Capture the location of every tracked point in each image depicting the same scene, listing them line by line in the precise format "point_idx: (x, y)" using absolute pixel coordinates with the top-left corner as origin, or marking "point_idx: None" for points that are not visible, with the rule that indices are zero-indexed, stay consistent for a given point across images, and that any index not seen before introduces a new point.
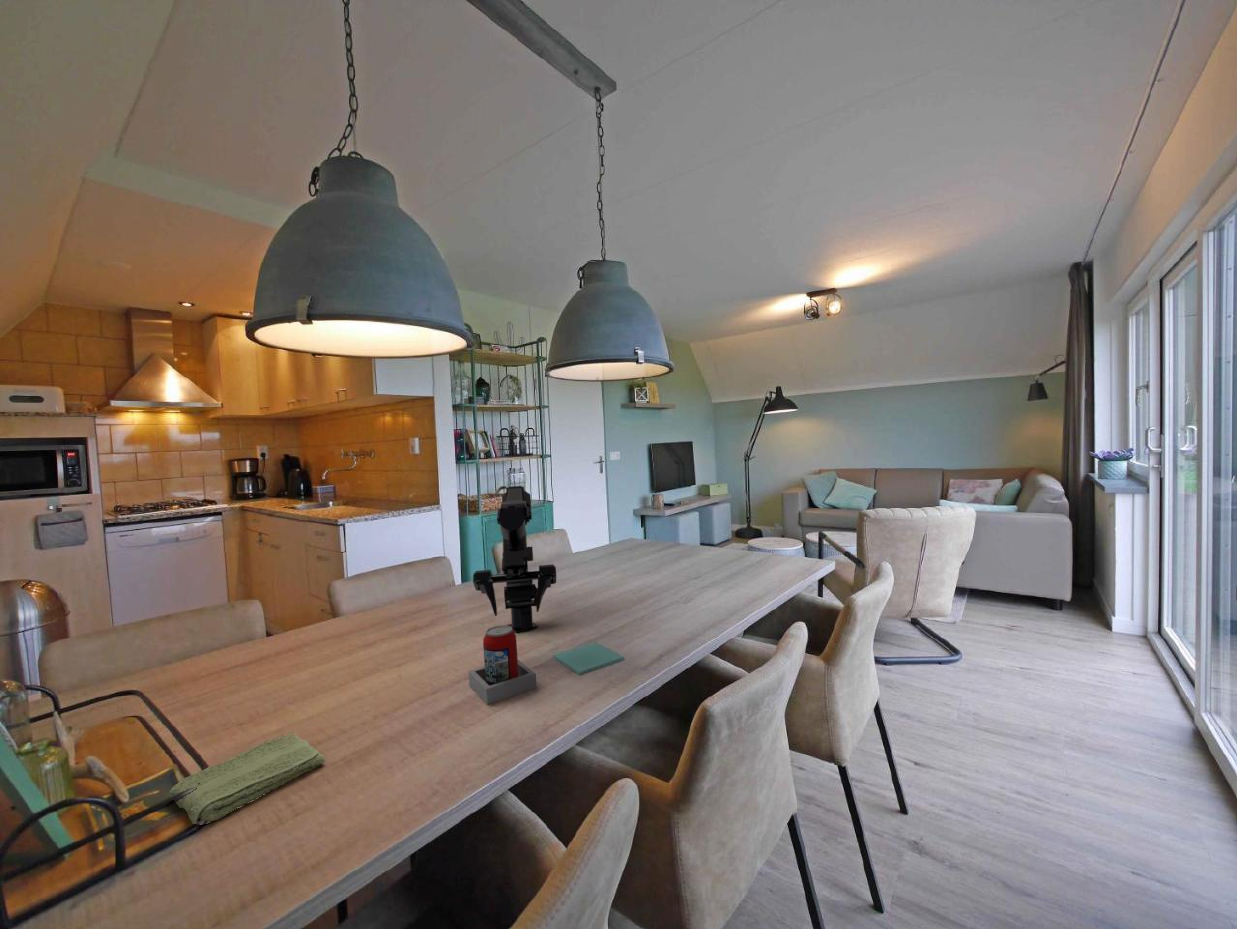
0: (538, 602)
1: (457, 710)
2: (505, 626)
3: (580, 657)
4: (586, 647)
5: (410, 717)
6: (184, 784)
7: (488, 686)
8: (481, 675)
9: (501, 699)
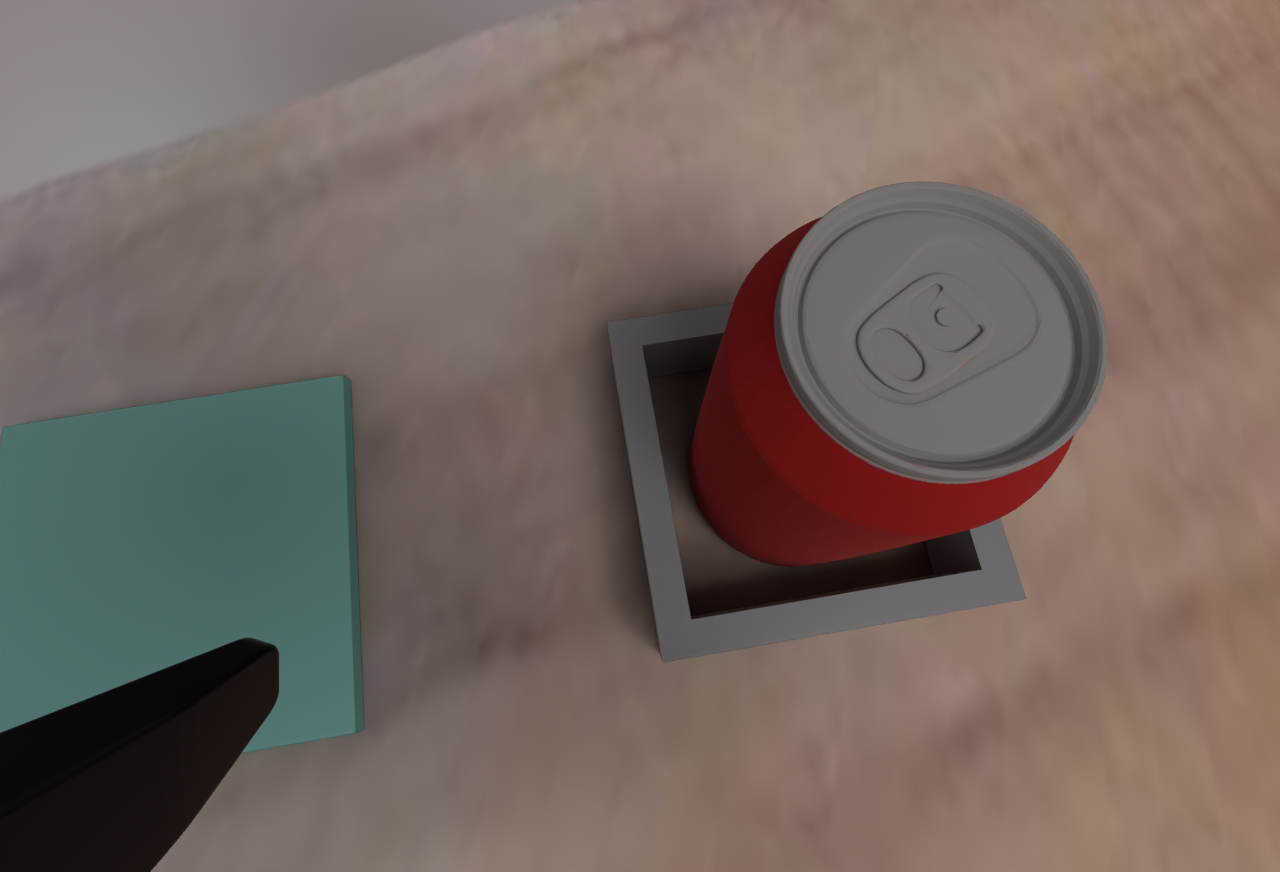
0: (107, 707)
1: None
2: (844, 423)
3: (221, 574)
4: None
5: (1268, 381)
6: None
7: None
8: (915, 579)
9: None
